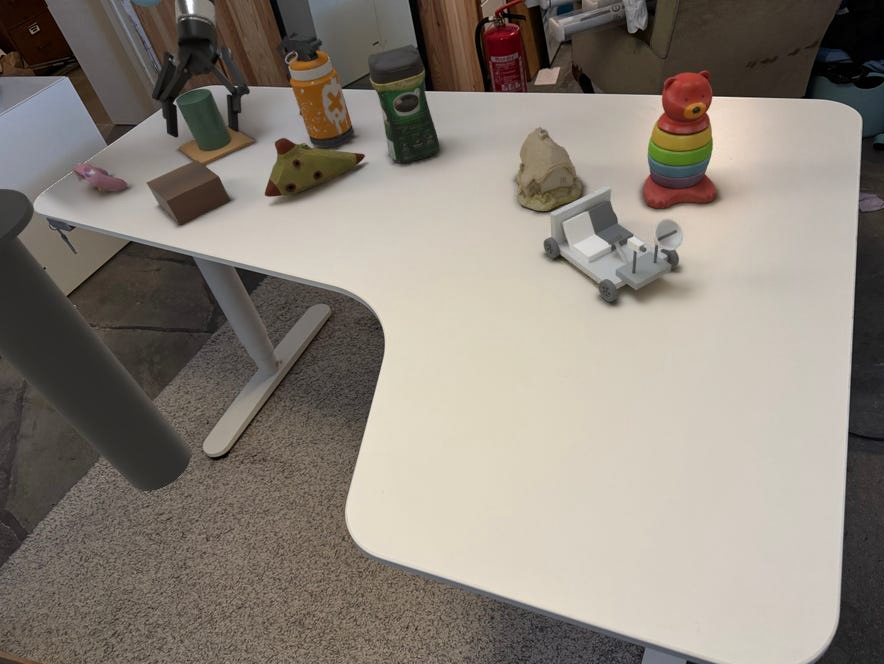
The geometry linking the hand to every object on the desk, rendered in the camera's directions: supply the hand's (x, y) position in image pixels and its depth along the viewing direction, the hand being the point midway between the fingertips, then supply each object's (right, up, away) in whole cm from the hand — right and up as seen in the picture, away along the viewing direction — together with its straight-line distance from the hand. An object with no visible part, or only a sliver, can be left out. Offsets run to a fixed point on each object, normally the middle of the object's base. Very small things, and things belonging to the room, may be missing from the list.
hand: (203, 132), depth 124 cm
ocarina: (+27, -14, -12) cm, 33 cm away
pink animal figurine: (-18, -12, -2) cm, 22 cm away
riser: (+4, -17, -11) cm, 21 cm away
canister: (+26, -1, +1) cm, 26 cm away
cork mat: (+1, -1, +5) cm, 5 cm away
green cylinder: (+1, -1, +4) cm, 4 cm away
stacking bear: (+88, -20, -27) cm, 94 cm away
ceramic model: (+68, -18, -22) cm, 74 cm away
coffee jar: (+44, -7, -8) cm, 46 cm away
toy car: (+76, -33, -38) cm, 91 cm away
